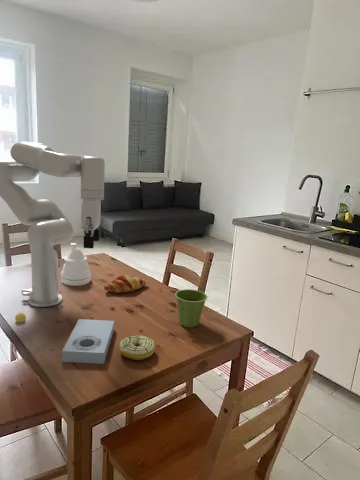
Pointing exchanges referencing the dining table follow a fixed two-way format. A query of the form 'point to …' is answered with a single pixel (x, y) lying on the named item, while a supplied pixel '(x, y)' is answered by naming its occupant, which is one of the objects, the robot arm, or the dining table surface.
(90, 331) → the deck
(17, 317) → the ball
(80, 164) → the robot arm
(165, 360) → the dining table surface
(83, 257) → the honey pot
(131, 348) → the decorated donut
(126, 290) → the croissant
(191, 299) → the plant pot
